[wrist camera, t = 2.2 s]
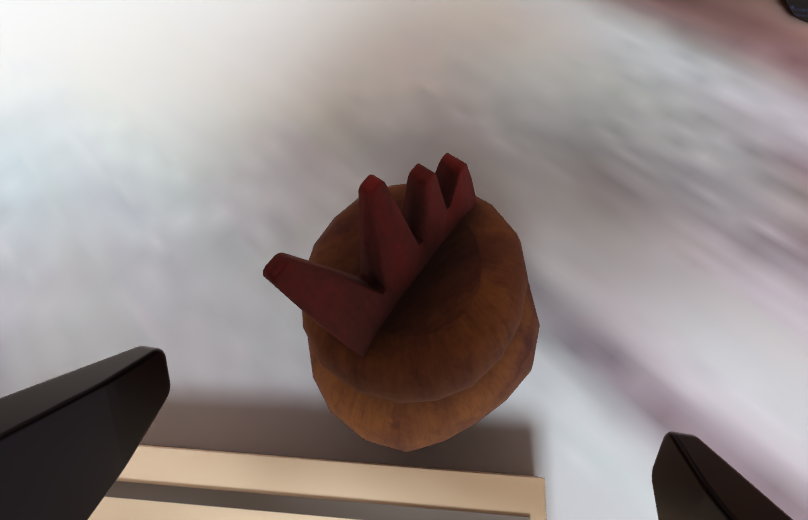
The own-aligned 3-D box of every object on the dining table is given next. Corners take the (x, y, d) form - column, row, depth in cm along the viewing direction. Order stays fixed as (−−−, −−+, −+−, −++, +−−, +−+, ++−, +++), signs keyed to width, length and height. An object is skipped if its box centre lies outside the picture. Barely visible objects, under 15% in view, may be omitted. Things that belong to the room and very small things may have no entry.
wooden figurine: (393, 479, 18) (213, 568, 4) (321, 347, 20) (40, 111, 6) (543, 381, 19) (809, 181, 5) (460, 263, 21) (486, -110, 7)
